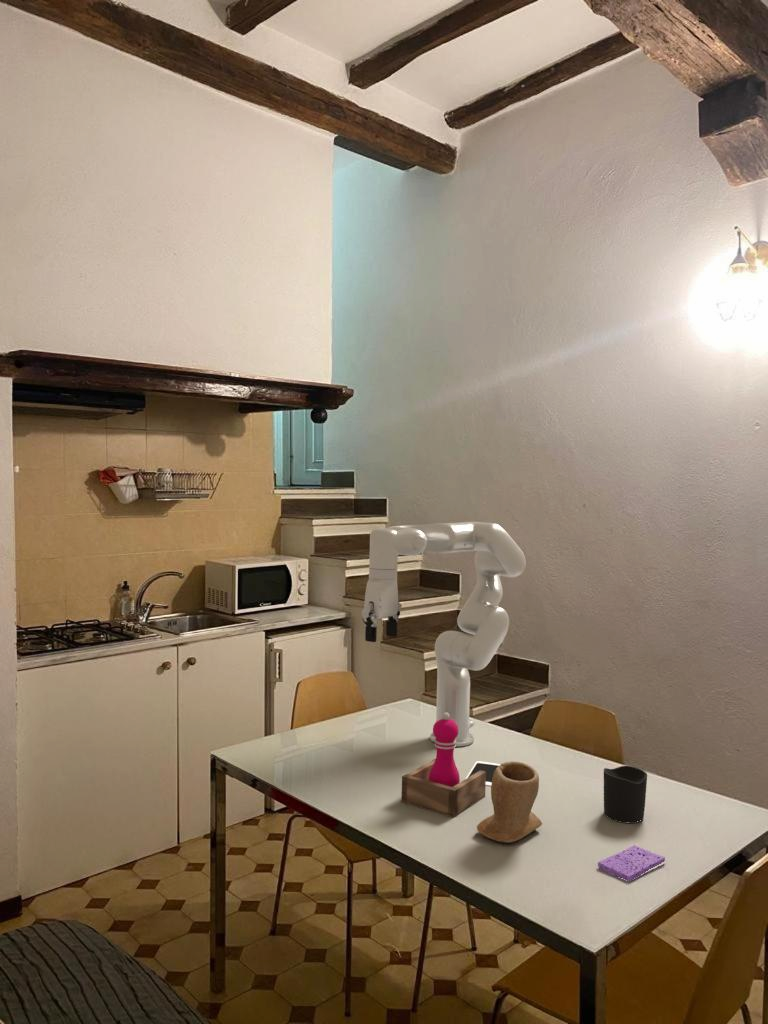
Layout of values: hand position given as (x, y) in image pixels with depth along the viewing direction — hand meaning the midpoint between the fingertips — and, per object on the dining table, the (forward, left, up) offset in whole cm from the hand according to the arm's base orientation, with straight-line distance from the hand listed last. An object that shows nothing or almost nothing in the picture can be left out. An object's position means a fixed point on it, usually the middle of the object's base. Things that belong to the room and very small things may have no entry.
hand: (381, 638), depth 212 cm
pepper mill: (+14, +28, -32) cm, 45 cm away
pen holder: (-4, +65, -33) cm, 73 cm away
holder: (+12, +28, -32) cm, 45 cm away
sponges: (+19, +74, -33) cm, 83 cm away
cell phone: (-8, +28, -33) cm, 44 cm away
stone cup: (+20, +49, -33) cm, 62 cm away
